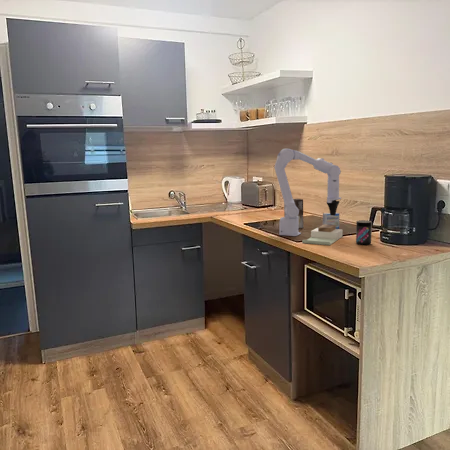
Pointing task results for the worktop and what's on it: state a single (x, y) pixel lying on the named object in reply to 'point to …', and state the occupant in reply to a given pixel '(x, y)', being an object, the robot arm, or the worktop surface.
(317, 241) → the mat
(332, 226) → the tile
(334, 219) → the medicine box
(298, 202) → the coffee box
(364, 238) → the supplement container
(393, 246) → the worktop surface
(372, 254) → the worktop surface
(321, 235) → the white box
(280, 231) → the robot arm
